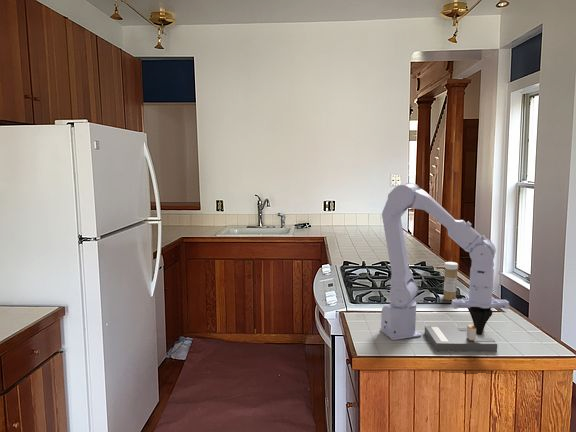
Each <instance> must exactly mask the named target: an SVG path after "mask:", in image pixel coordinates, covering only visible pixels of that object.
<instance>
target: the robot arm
mask: <svg viewBox="0 0 576 432" xmlns="http://www.w3.org/2000/svg"><path fill="white" fill-rule="evenodd" d="M410 207H411V209H413V210H415V209H416V210H420V211H421V210H423V211H424V212H426V213H427V214H428V215H430V216H431V217H432V218H433V219H435V220H436V221H438V223H440V224H441V225H442V226H443V227H445V228H446V229H447V236H448V237H449V238H451V240H452V241H454V242H455V243H456V244H457V245H458V246H460V248H462V249H463V250H464V251H465V252H467V253H469V258H470V260H471V266H470V267H469V268H470V269H469V270H470V272H469V291H468V297H465V298H456V299H455V300H452V301H451V308H453V309H456V310H457V309H461V308H462V309H467V310H468V312H469V314H470V316H471V320H472V323H473V325H474V326H475V328H476V334H477V335H482V332H483V329H484V330H485V327H486V324H487V323H488V321H489V319H490V318H491V317H492V315H493V310H492V309H504V310H509V309H510V301H508V300H507V299H497V298H493V289H494V274H495V273H494V272H495V269H494V266H495V263H494V260H495V254H496V251H497V250H496V246H495V244H494V243H493V241H492V240H491V239H489V238H487V237H486V236H485V235H484V234H482V235H481V234H480V233H479V232H478V231H477V230H476V229H474V228H473V227H472V223H471V222H470V221H469V220H468V221H467V222H466V221H465V220H464V219H455V218H454V217H453V216H452V215H451V214H450V213H449V211H447V210H446V209H445V208H444V207H443V206H442V205H441V204H440V203H438V202H437V201H436V200H435V199H434V198H433V197H432V196H431V195H430V194H429V193H428V192H427V191H425V190H424V189H423V188H420V186H419V185H418V184H416V183H414V182H406V183H404V184H400V185H396V186H394V188H393V189H392V190H390V192H389V193H388V195H387V199H386V202H385V205H384V207H383V209H382V212H381V218H382V223H383V228H384V229H383V230H384V235H385V241H386V242H385V243H386V247H387V254H388V259H389V260H388V261H389V266H390V271H391V276H390V283H389V284H390V290H389V292H388V298H389V301H390V303H389V304H387V305H384V306H383V307H382V309H381V321H380V328H379V330H380V331H381V332H382V333H383V334H384V335H386V336H387V337H388V338H390V339H391V340H392V341H396V340H402V339H408V338H410V339H411V338H418V337H422V334H421V332H420V331H417V330H416V321H417V317H416V316H417V301H416V300H415V299H416V298H415V297H416V296H417V295H418V292H419V286H418V284H417V282H416V281H415V279H414V275H413V273H412V272H411V270H410V265H409V259H408V254H407V253H408V252H407V247H406V246H407V245H406V241H405V235H404V230H403V229H404V228H403V223H402V216H404V214H405V213H406V211H407V210H408V208H410Z"/></svg>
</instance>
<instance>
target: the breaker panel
mask: <svg viewBox="0 0 576 432" xmlns="http://www.w3.org/2000/svg"><path fill="white" fill-rule="evenodd" d="M424 335H425V336H426V337H427V339H428V341H429V342H430V344H431V345H432V347H433V348H434V350H435V351H436V352H479V353H481V352H483V353H484V352H489V353H491V352H492V353H493V352H496V353H497V352H498V343H497V341H495V339H494V338H492V337H491V336H490V335H489V334H488V333H487V332H486V331H485V329H484V330H483V332H482V335H477V334H476V340H469V339H468V337H467V325H425V326H424Z"/></svg>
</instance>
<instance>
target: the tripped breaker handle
mask: <svg viewBox="0 0 576 432" xmlns="http://www.w3.org/2000/svg"><path fill="white" fill-rule="evenodd" d="M466 326H467V337H468V339H469V340H476V328H475V326H474V324H466Z"/></svg>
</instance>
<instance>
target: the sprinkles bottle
mask: <svg viewBox="0 0 576 432" xmlns="http://www.w3.org/2000/svg"><path fill="white" fill-rule="evenodd" d="M458 269H459V264H458V263H457V262H455V261H445V262H444V280H443V295H442V299H444V300H445V301H450V300H455V299H457V289H458Z"/></svg>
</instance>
